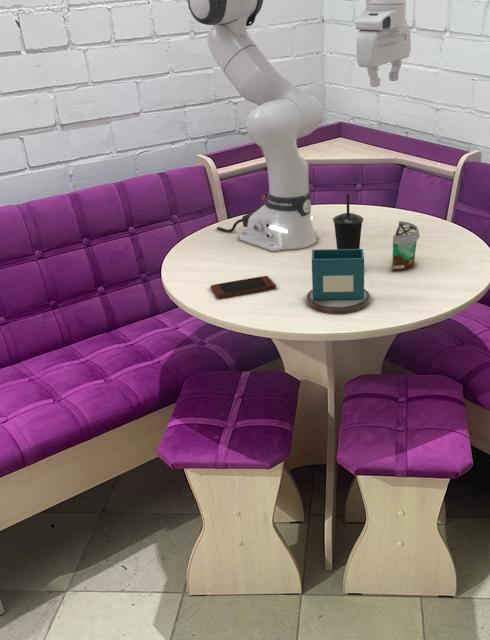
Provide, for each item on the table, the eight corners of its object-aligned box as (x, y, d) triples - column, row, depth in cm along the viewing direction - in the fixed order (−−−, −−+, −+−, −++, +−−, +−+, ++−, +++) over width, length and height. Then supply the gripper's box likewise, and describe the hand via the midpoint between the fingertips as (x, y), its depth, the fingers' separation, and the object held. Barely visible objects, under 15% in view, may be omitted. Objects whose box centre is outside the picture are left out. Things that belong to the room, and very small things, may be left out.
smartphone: (276, 284, 185) (217, 295, 180) (276, 288, 185) (217, 298, 180) (267, 274, 190) (209, 284, 186) (267, 278, 191) (210, 288, 186)
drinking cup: (348, 261, 201) (347, 187, 190) (368, 269, 196) (369, 193, 186) (327, 269, 196) (326, 194, 186) (348, 277, 191) (348, 200, 181)
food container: (415, 275, 192) (417, 237, 187) (391, 273, 193) (392, 236, 188) (420, 257, 202) (422, 221, 197) (398, 256, 203) (399, 220, 198)
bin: (313, 288, 181) (312, 249, 176) (362, 287, 181) (363, 248, 176) (312, 300, 175) (311, 259, 170) (363, 299, 175) (364, 259, 170)
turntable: (294, 305, 177) (294, 299, 176) (328, 283, 188) (328, 277, 187) (349, 319, 170) (349, 313, 170) (380, 295, 181) (380, 289, 180)
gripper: (394, 13, 177) (392, 76, 184) (351, 21, 162) (351, 89, 169) (418, 14, 174) (415, 78, 181) (377, 22, 159) (376, 91, 166)
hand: (384, 83), depth 175 cm, fingers open, 8 cm apart
